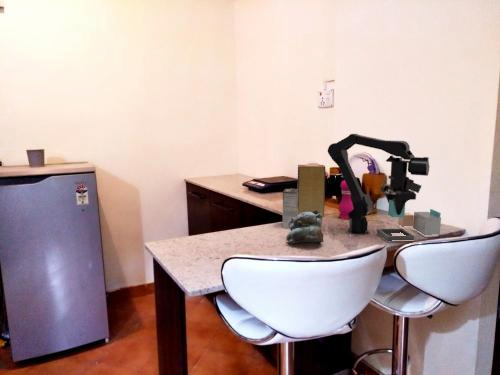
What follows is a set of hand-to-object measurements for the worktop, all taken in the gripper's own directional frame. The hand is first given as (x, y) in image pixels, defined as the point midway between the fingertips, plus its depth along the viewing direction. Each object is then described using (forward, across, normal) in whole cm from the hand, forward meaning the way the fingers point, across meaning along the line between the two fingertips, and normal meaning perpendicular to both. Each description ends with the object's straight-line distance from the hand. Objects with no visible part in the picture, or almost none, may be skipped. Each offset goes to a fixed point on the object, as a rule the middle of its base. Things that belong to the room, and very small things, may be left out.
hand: (396, 213), depth 143 cm
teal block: (+1, 0, 0) cm, 1 cm away
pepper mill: (+10, +33, +10) cm, 36 cm away
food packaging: (+10, +40, +26) cm, 49 cm away
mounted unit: (+10, +5, -15) cm, 19 cm away
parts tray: (+10, 0, 0) cm, 10 cm away
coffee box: (+10, +20, +39) cm, 45 cm away
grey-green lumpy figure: (+10, -5, +37) cm, 39 cm away
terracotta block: (+10, +15, -11) cm, 21 cm away
